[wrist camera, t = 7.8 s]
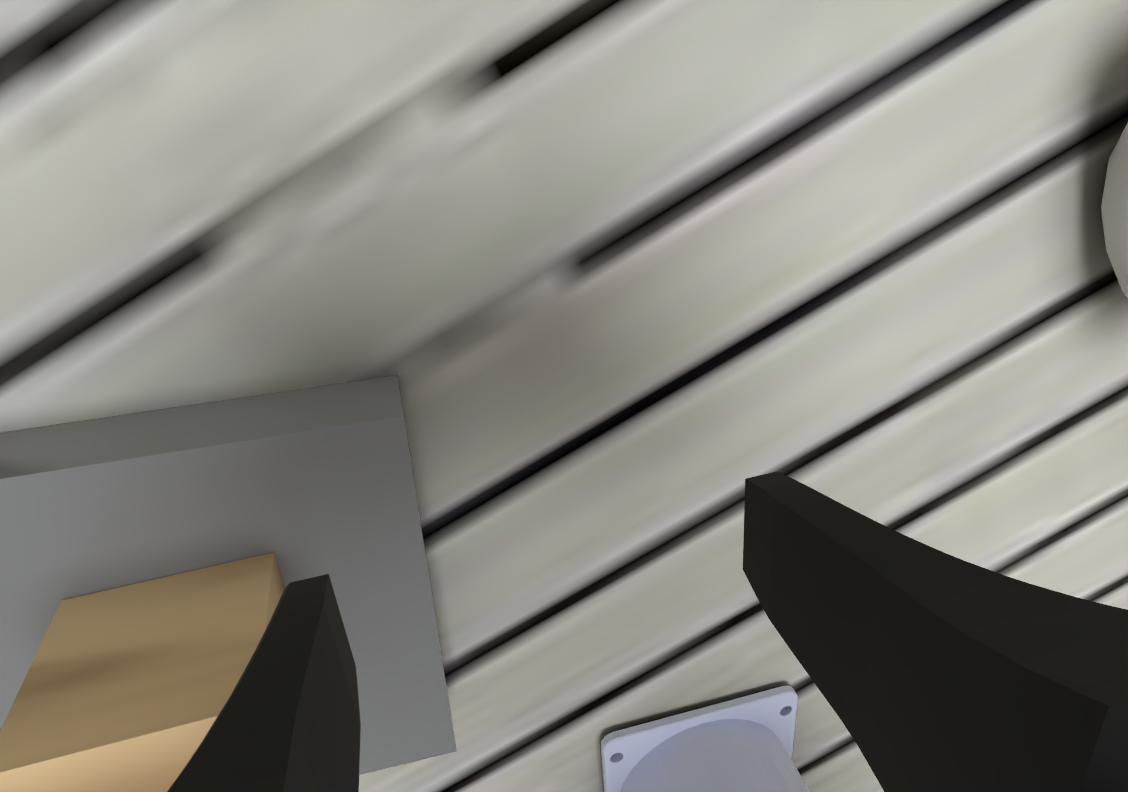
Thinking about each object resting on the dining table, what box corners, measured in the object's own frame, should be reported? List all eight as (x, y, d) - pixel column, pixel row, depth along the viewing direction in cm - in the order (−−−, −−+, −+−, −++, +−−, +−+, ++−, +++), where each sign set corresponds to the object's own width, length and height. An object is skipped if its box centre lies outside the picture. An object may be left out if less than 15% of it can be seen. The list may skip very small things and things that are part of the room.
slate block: (445, 679, 27) (456, 750, 24) (67, 764, 25) (34, 853, 22) (396, 367, 22) (403, 416, 19) (-96, 437, 19) (-165, 504, 17)
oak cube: (321, 690, 22) (316, 857, 18) (133, 739, 21) (80, 927, 17) (273, 552, 20) (255, 706, 15) (60, 600, 19) (-22, 778, 15)
